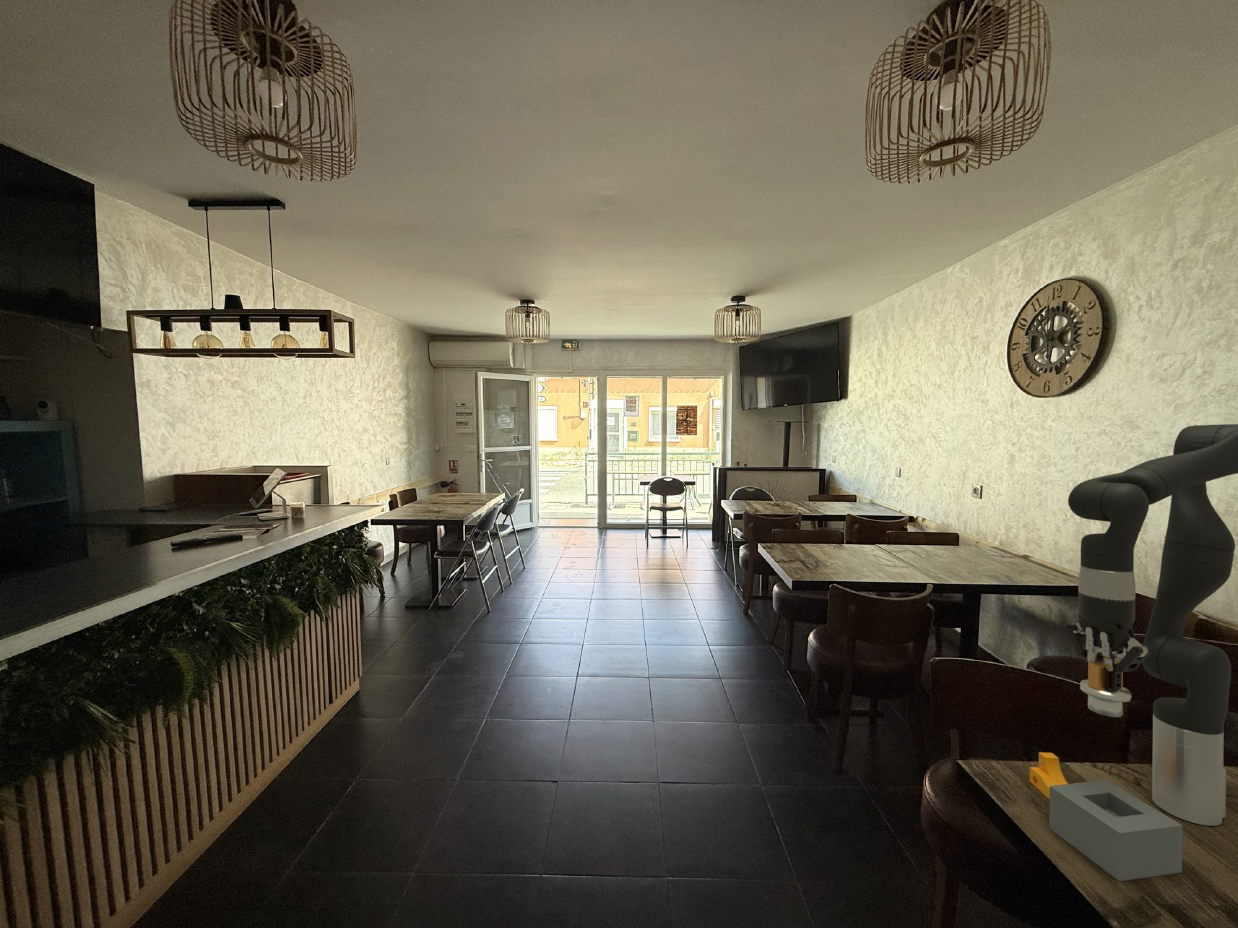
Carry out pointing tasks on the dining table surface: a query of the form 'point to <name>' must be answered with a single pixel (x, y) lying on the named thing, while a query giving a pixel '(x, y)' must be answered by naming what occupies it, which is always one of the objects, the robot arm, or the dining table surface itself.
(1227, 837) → the dining table surface
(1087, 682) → the end cover
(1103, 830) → the bearing housing
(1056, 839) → the dining table surface
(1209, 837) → the dining table surface
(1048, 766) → the pipe clamp
